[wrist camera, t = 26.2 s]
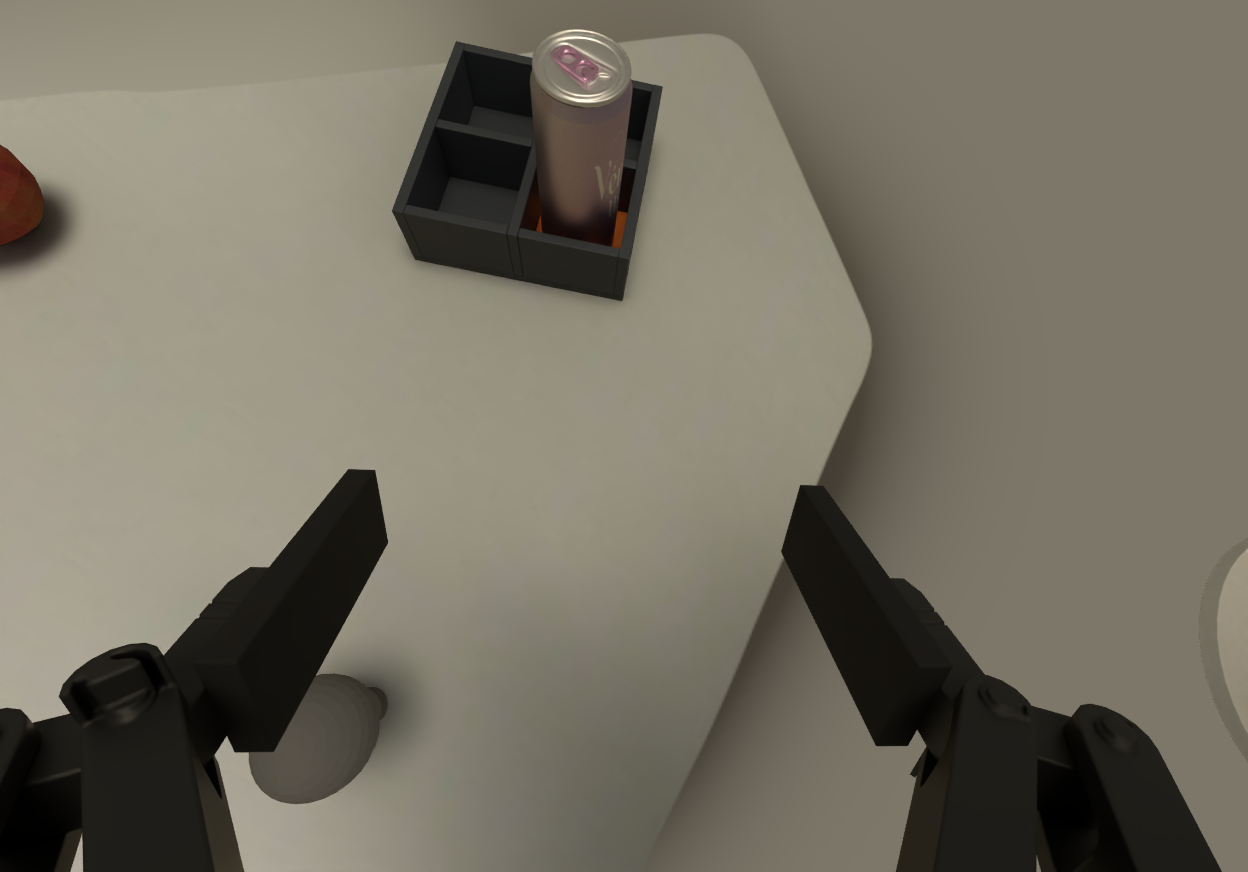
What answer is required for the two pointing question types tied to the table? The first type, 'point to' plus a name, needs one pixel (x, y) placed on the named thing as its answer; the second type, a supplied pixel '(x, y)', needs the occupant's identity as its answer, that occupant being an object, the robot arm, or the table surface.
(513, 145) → the tray
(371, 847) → the table surface
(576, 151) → the beverage can
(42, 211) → the fruit
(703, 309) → the table surface
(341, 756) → the light bulb
